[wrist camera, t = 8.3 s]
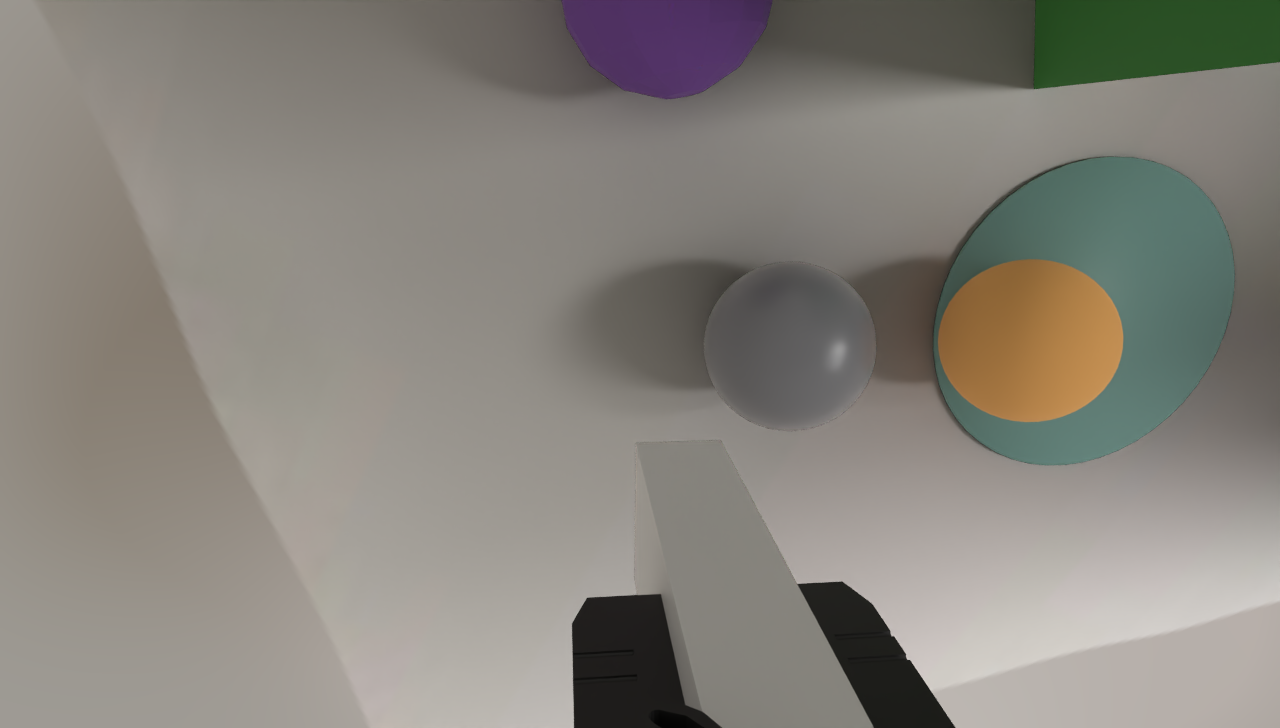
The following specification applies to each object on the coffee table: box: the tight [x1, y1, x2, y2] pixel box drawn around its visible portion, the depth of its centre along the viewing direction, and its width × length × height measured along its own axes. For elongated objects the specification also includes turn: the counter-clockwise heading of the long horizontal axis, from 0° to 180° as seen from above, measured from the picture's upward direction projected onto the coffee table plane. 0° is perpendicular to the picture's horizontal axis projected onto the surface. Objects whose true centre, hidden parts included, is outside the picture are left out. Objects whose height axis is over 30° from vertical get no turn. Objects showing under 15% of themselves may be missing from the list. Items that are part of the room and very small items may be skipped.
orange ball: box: [938, 259, 1123, 422], centre depth 24 cm, size 6×6×6 cm
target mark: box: [933, 157, 1235, 465], centre depth 27 cm, size 12×12×1 cm
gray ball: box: [704, 262, 877, 431], centre depth 23 cm, size 6×6×6 cm
